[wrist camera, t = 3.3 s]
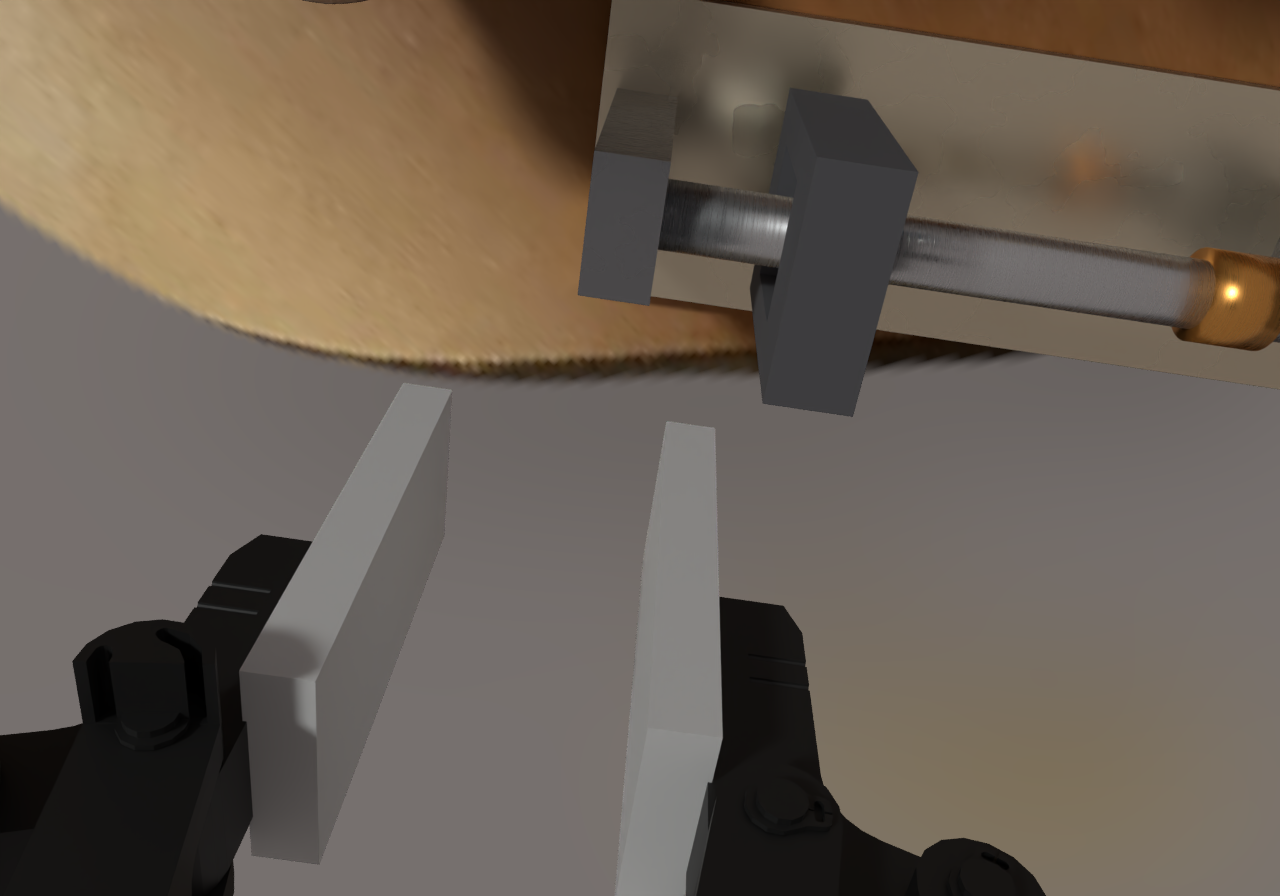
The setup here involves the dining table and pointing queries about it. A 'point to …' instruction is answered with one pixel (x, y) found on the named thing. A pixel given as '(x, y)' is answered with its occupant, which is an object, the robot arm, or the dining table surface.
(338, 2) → the cup
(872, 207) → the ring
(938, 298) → the rail
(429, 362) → the dining table surface
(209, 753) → the robot arm
